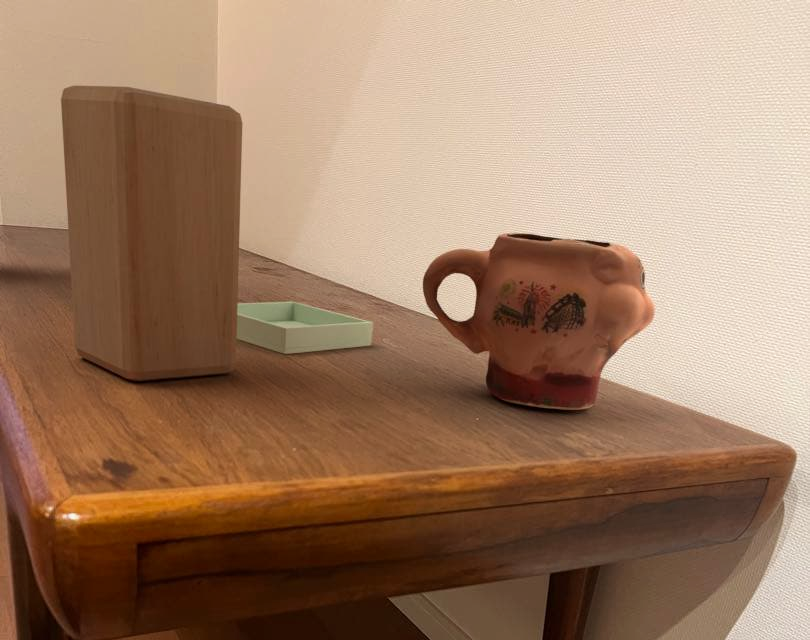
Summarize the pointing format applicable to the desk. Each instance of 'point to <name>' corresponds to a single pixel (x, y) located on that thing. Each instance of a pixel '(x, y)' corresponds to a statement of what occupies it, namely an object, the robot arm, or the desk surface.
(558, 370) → the terracotta mug
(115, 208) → the block
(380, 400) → the desk surface
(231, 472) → the desk surface
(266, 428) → the desk surface
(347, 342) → the shallow tray
